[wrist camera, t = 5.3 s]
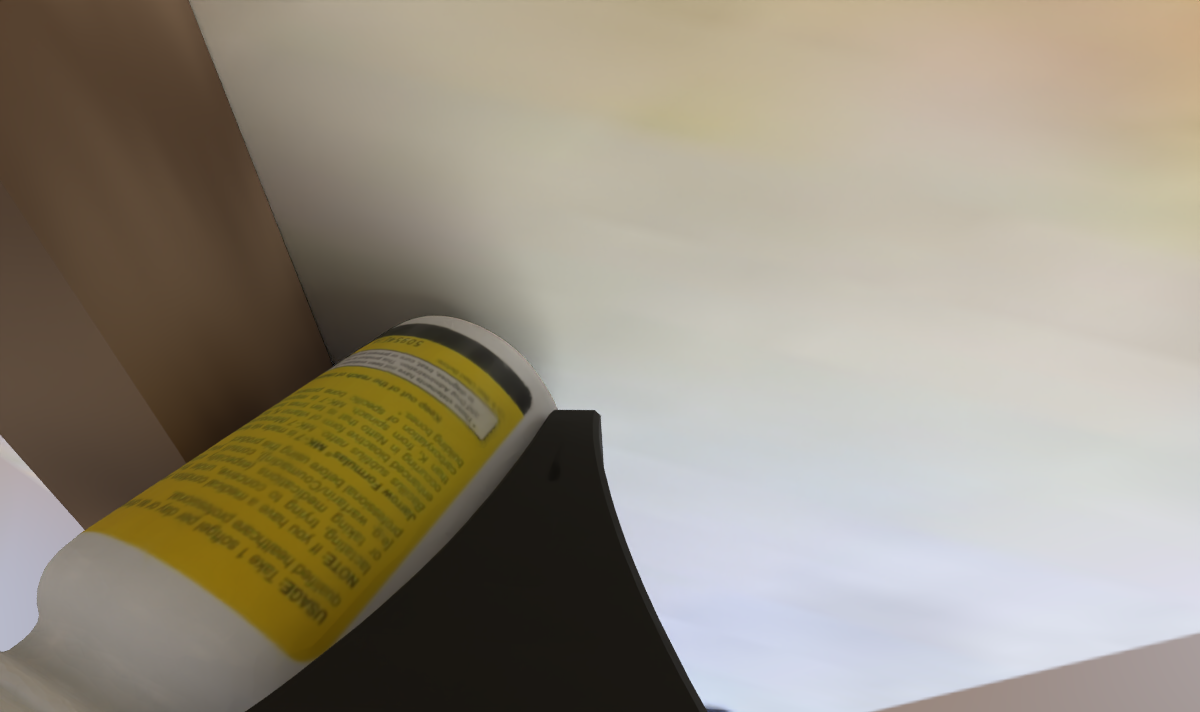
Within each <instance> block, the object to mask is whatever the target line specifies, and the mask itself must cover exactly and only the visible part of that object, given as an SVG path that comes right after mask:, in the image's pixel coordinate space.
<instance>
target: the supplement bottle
mask: <svg viewBox="0 0 1200 712" xmlns="http://www.w3.org/2000/svg"><path fill="white" fill-rule="evenodd" d="M554 410H558V409H557V407H556V404H555V402H554V400H553V398H552V396H551V394H550V392H549V391H548V389H547V387H546V386H545V384H544V383H543V381H542V380H541V378H540V377H539V375H538V374H537V373H536V371H535V370H534V368H533V367H532V366H531V365H530V364H529V362H528V361H527V360H526V359H525V358H524V357H523V356H522V355H521V354H520V353H519V352H518V351H517V350H516V349H514V348H513V347H512V346H511V345H510V344H509V343H507V342H506V341H505V340H503V339H502V338H500V337H499V336H497V335H496V334H494V333H492V332H491V331H489V330H487V329H485V328H483V327H481V326H479V325H476V324H474V323H471V322H468V321H465V320H462V319H458V318H454V317H448V316H424V317H418V318H415V319H411V320H408V321H405V322H403V323H401V324H399V325H397V326H395V327H394V328H392V329H390V330H388V331H387V332H385V333H383V334H381V335H380V336H379V337H377V338H376V339H375V340H373V341H372V342H371V343H369V344H367V345H366V346H364V347H362V348H361V349H359V350H358V351H356V352H355V353H353V354H352V355H350V356H349V357H347V358H345V359H344V360H342V361H341V362H339V363H338V364H336V365H335V366H334V367H332V368H331V369H329V370H328V371H326V372H325V373H323V374H322V375H320V376H318V377H317V378H315V379H314V380H312V381H311V382H309V383H308V384H306V385H305V386H303V387H302V388H300V389H298V390H297V391H295V392H294V393H292V394H291V395H289V396H288V397H286V398H285V399H283V400H282V401H280V402H279V403H277V404H276V405H274V406H273V407H271V408H270V409H268V410H266V411H265V412H263V413H262V414H260V415H259V416H258V417H256V418H255V419H253V420H252V421H250V422H249V423H247V424H245V425H244V426H242V427H241V428H239V429H238V430H236V431H235V432H233V433H232V434H230V435H229V436H227V437H226V438H224V439H223V440H221V441H220V442H218V443H217V444H215V445H214V446H212V447H211V448H209V449H208V450H206V451H205V452H203V453H202V454H200V455H199V456H197V457H196V458H194V459H192V460H191V461H189V462H188V463H186V464H185V465H183V466H182V467H180V468H179V469H177V470H176V471H174V472H173V473H171V474H170V475H168V476H167V477H165V478H164V479H162V480H160V481H159V482H157V483H156V484H154V485H153V486H151V487H150V488H148V489H147V490H145V491H144V492H142V493H141V494H139V495H138V496H136V497H135V498H133V499H132V500H130V501H128V502H127V503H125V504H124V505H122V506H121V507H119V508H118V509H116V510H115V511H113V512H112V513H110V514H109V515H107V516H106V517H104V518H103V519H101V520H100V521H98V522H97V523H95V524H94V525H92V526H91V527H89V528H88V529H86V530H85V531H83V532H82V533H80V534H79V535H78V536H77V537H76V538H74V539H73V540H72V541H71V542H69V543H68V544H67V545H66V546H65V547H63V548H62V549H61V550H60V551H59V552H58V553H57V554H56V555H55V556H54V557H53V559H52V560H51V561H50V562H49V563H48V565H47V566H46V568H45V569H44V572H43V574H42V576H41V579H40V582H39V586H38V591H37V606H38V611H39V618H38V622H37V624H36V626H35V627H34V629H33V630H32V631H31V633H30V634H29V635H27V636H26V637H25V638H24V639H23V640H22V641H21V642H19V643H18V644H17V645H15V646H14V647H13V648H11V649H10V650H8V651H5V652H0V712H245V711H247V710H248V709H250V708H251V707H252V706H254V705H255V704H257V703H258V702H260V701H261V700H262V699H264V698H265V697H267V696H268V695H269V694H271V693H272V692H273V691H275V690H276V689H277V688H279V687H280V686H282V685H283V684H284V683H286V682H287V681H288V680H290V679H291V678H292V677H293V676H295V675H296V674H297V673H299V672H300V671H301V670H302V669H304V668H305V667H306V666H307V665H309V664H310V663H311V662H312V661H314V660H315V659H316V658H318V657H319V656H320V655H321V654H323V653H324V652H325V651H326V650H328V649H329V648H330V647H331V646H333V645H334V644H335V643H337V642H338V641H339V640H340V639H342V638H343V637H344V636H345V635H347V634H348V633H349V632H350V631H352V630H353V629H354V628H355V627H357V626H358V625H359V624H360V623H361V622H363V621H364V620H365V619H366V618H367V617H368V616H370V615H371V614H372V613H373V612H374V611H375V610H377V609H378V608H379V607H380V606H381V605H382V604H383V603H385V602H386V601H387V600H388V599H389V598H390V597H391V596H392V595H393V594H394V593H396V592H397V591H398V590H399V589H400V588H401V587H402V586H403V585H404V584H405V583H407V582H408V581H409V580H410V579H411V578H412V577H413V576H414V575H415V574H416V573H417V572H418V571H419V570H421V569H422V568H423V567H424V566H425V565H426V564H427V563H428V562H429V561H430V560H431V559H432V558H433V557H434V556H435V555H436V554H437V553H438V552H439V551H440V550H441V549H442V548H443V547H444V546H445V545H446V544H447V543H448V542H449V541H450V539H451V538H452V537H453V536H454V535H455V534H456V533H457V532H458V531H459V530H460V529H461V528H462V527H463V526H464V524H465V523H466V522H467V521H468V520H469V519H470V518H471V516H472V515H473V514H474V513H475V512H476V511H477V509H478V508H479V507H480V506H481V505H482V504H483V503H484V501H485V500H486V499H487V498H488V497H489V496H490V494H491V493H492V492H493V491H494V490H495V488H496V487H497V486H498V485H499V483H500V482H501V481H502V480H503V478H504V477H505V476H506V474H507V473H508V472H509V470H510V469H511V468H512V467H513V465H514V464H515V463H516V461H517V460H518V459H519V458H520V456H521V455H522V453H523V452H524V451H525V449H526V448H527V446H528V445H529V444H530V442H531V441H532V439H533V438H534V437H535V435H536V434H537V432H538V431H539V429H540V428H541V426H542V425H543V423H544V422H545V420H546V419H547V417H548V415H549V414H550V413H551V412H552V411H554Z"/></svg>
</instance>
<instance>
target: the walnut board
mask: <svg viewBox="0 0 1200 712" xmlns="http://www.w3.org/2000/svg"><path fill="white" fill-rule="evenodd" d="M332 367H333V365H332V363H331V360H330V358H329V355H328V353H327V350H326V348H325V345H324V343H323V340H322V337H321V335H320V332H319V330H318V327H317V325H316V322H315V320H314V317H313V315H312V312H311V310H310V307H309V305H308V302H307V300H306V297H305V294H304V292H303V289H302V287H301V284H300V282H299V279H298V277H297V274H296V272H295V269H294V267H293V264H292V262H291V259H290V257H289V254H288V251H287V249H286V246H285V244H284V241H283V239H282V236H281V234H280V231H279V229H278V226H277V224H276V221H275V219H274V216H273V213H272V211H271V208H270V206H269V203H268V201H267V198H266V196H265V193H264V191H263V188H262V186H261V183H260V181H259V178H258V176H257V173H256V170H255V168H254V165H253V163H252V160H251V158H250V155H249V153H248V150H247V148H246V145H245V143H244V140H243V138H242V135H241V133H240V130H239V127H238V125H237V122H236V120H235V117H234V115H233V112H232V110H231V107H230V105H229V102H228V100H227V97H226V95H225V92H224V90H223V87H222V84H221V82H220V79H219V77H218V74H217V72H216V69H215V67H214V64H213V62H212V59H211V57H210V54H209V52H208V49H207V46H206V44H205V41H204V39H203V36H202V34H201V31H200V29H199V26H198V24H197V21H196V19H195V16H194V14H193V11H192V9H191V6H190V3H189V1H188V0H0V435H1V436H2V437H3V438H4V439H5V440H6V442H7V443H8V444H9V445H10V446H11V447H12V448H13V449H14V451H15V452H16V453H17V454H18V455H19V456H20V457H21V459H22V460H23V461H24V462H25V463H26V464H27V465H28V466H29V468H30V469H31V470H32V471H33V472H34V473H35V474H36V475H37V477H38V478H39V479H40V480H41V481H42V482H43V483H44V484H45V486H46V487H47V488H48V489H49V490H50V491H51V492H52V493H53V495H54V496H55V497H56V498H57V499H58V500H59V501H60V502H61V504H63V506H64V507H65V508H66V509H67V510H68V512H69V513H70V514H71V515H72V516H73V517H74V518H75V519H76V520H77V521H78V523H79V524H80V525H81V526H82V527H83V528H84V530H86V529H88V528H89V527H91V526H92V525H94V524H95V523H97V522H98V521H100V520H101V519H103V518H104V517H106V516H107V515H109V514H110V513H112V512H113V511H115V510H116V509H118V508H119V507H121V506H122V505H124V504H125V503H127V502H128V501H130V500H132V499H133V498H135V497H136V496H138V495H139V494H141V493H142V492H144V491H145V490H147V489H148V488H150V487H151V486H153V485H154V484H156V483H157V482H159V481H160V480H162V479H164V478H165V477H167V476H168V475H170V474H171V473H173V472H174V471H176V470H177V469H179V468H180V467H182V466H183V465H185V464H186V463H188V462H189V461H191V460H192V459H194V458H196V457H197V456H199V455H200V454H202V453H203V452H205V451H206V450H208V449H209V448H211V447H212V446H214V445H215V444H217V443H218V442H220V441H221V440H223V439H224V438H226V437H227V436H229V435H230V434H232V433H233V432H235V431H236V430H238V429H239V428H241V427H242V426H244V425H245V424H247V423H249V422H250V421H252V420H253V419H255V418H256V417H258V416H259V415H260V414H262V413H263V412H265V411H266V410H268V409H270V408H271V407H273V406H274V405H276V404H277V403H279V402H280V401H282V400H283V399H285V398H286V397H288V396H289V395H291V394H292V393H294V392H295V391H297V390H298V389H300V388H302V387H303V386H305V385H306V384H308V383H309V382H311V381H312V380H314V379H315V378H317V377H318V376H320V375H322V374H323V373H325V372H326V371H328V370H329V369H331V368H332Z"/></svg>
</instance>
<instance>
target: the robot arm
mask: <svg viewBox="0 0 1200 712" xmlns="http://www.w3.org/2000/svg"><path fill="white" fill-rule="evenodd" d="M245 712H707V710H706V708H705V707H704V705H703V703H702V701H701V699H700V698H699V696H698V694H697V692H696V690H695V689H694V687H693V685H692V683H691V681H690V680H689V678H688V676H687V674H686V672H685V670H684V668H683V666H682V664H681V662H680V660H679V658H678V656H677V654H676V652H675V650H674V648H673V646H672V644H671V642H670V640H669V638H668V636H667V634H666V632H665V630H664V628H663V626H662V624H661V622H660V620H659V618H658V616H657V614H656V612H655V610H654V607H653V605H652V603H651V601H650V599H649V596H648V594H647V592H646V590H645V587H644V585H643V583H642V580H641V578H640V576H639V573H638V571H637V568H636V566H635V564H634V561H633V559H632V556H631V553H630V551H629V548H628V546H627V543H626V540H625V537H624V535H623V532H622V529H621V526H620V523H619V520H618V517H617V514H616V511H615V508H614V504H613V501H612V498H611V494H610V490H609V486H608V482H607V478H606V475H605V471H604V463H603V447H602V432H601V416H600V414H598V413H597V412H596V411H595V410H554V411H552V412H551V413H550V414H549V415H548V417H547V419H546V420H545V422H544V423H543V425H542V426H541V428H540V429H539V431H538V432H537V434H536V435H535V437H534V438H533V439H532V441H531V442H530V444H529V445H528V446H527V448H526V449H525V451H524V452H523V453H522V455H521V456H520V458H519V459H518V460H517V461H516V463H515V464H514V465H513V467H512V468H511V469H510V470H509V472H508V473H507V474H506V476H505V477H504V478H503V480H502V481H501V482H500V483H499V485H498V486H497V487H496V488H495V490H494V491H493V492H492V493H491V494H490V496H489V497H488V498H487V499H486V500H485V501H484V503H483V504H482V505H481V506H480V507H479V508H478V509H477V511H476V512H475V513H474V514H473V515H472V516H471V518H470V519H469V520H468V521H467V522H466V523H465V524H464V526H463V527H462V528H461V529H460V530H459V531H458V532H457V533H456V534H455V535H454V536H453V537H452V538H451V539H450V541H449V542H448V543H447V544H446V545H445V546H444V547H443V548H442V549H441V550H440V551H439V552H438V553H437V554H436V555H435V556H434V557H433V558H432V559H431V560H430V561H429V562H428V563H427V564H426V565H425V566H424V567H423V568H422V569H421V570H419V571H418V572H417V573H416V574H415V575H414V576H413V577H412V578H411V579H410V580H409V581H408V582H407V583H405V584H404V585H403V586H402V587H401V588H400V589H399V590H398V591H397V592H396V593H394V594H393V595H392V596H391V597H390V598H389V599H388V600H387V601H386V602H385V603H383V604H382V605H381V606H380V607H379V608H378V609H377V610H375V611H374V612H373V613H372V614H371V615H370V616H368V617H367V618H366V619H365V620H364V621H363V622H361V623H360V624H359V625H358V626H357V627H355V628H354V629H353V630H352V631H350V632H349V633H348V634H347V635H345V636H344V637H343V638H342V639H340V640H339V641H338V642H337V643H335V644H334V645H333V646H331V647H330V648H329V649H328V650H326V651H325V652H324V653H323V654H321V655H320V656H319V657H318V658H316V659H315V660H314V661H312V662H311V663H310V664H309V665H307V666H306V667H305V668H304V669H302V670H301V671H300V672H299V673H297V674H296V675H295V676H293V677H292V678H291V679H290V680H288V681H287V682H286V683H284V684H283V685H282V686H280V687H279V688H277V689H276V690H275V691H273V692H272V693H271V694H269V695H268V696H267V697H265V698H264V699H262V700H261V701H260V702H258V703H257V704H255V705H254V706H252V707H251V708H250V709H248V710H247V711H245Z"/></svg>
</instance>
